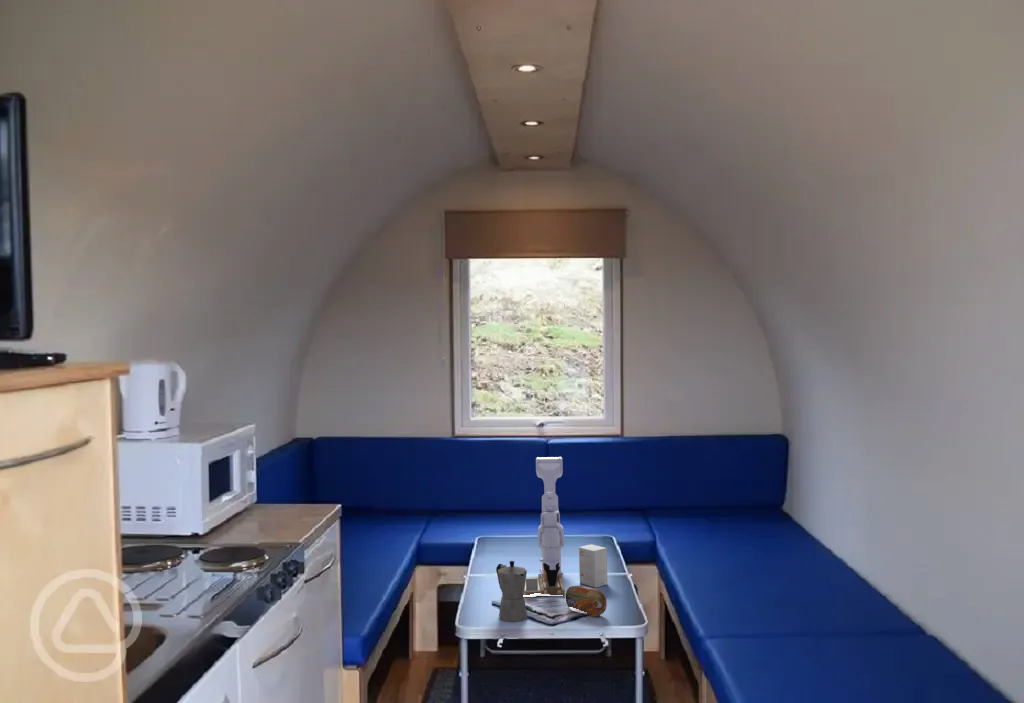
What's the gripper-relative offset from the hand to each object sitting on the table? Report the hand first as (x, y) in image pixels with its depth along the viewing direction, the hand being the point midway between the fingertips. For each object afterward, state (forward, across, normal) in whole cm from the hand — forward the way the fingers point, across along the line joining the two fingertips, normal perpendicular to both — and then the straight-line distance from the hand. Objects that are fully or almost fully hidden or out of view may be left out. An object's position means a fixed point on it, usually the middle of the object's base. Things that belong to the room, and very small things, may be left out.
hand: (551, 584), depth 303 cm
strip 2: (+1, -6, 0) cm, 7 cm away
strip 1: (+1, -4, -7) cm, 8 cm away
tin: (+3, +24, +10) cm, 26 cm away
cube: (+1, -9, 0) cm, 9 cm away
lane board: (+2, -4, -4) cm, 6 cm away
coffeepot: (+2, +25, -14) cm, 29 cm away
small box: (+2, -8, +15) cm, 17 cm away
